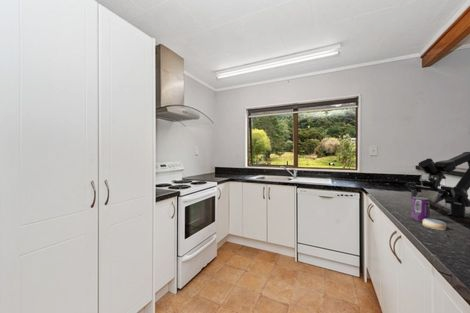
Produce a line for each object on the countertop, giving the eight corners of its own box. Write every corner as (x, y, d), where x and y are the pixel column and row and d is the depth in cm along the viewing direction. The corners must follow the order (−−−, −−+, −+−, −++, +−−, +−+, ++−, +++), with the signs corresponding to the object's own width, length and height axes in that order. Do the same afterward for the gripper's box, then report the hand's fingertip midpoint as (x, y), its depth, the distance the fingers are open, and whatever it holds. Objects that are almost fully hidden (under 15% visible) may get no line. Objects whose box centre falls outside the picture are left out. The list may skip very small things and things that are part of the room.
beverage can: (433, 223, 100) (433, 199, 100) (417, 222, 102) (417, 199, 102) (423, 218, 107) (423, 196, 107) (408, 217, 109) (408, 196, 109)
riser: (427, 223, 101) (427, 217, 101) (449, 228, 94) (449, 222, 94) (419, 225, 97) (419, 219, 97) (441, 231, 90) (441, 224, 90)
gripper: (408, 168, 116) (396, 188, 112) (453, 171, 99) (442, 194, 95) (414, 181, 119) (404, 201, 115) (459, 185, 103) (449, 209, 98)
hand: (422, 201), depth 106 cm, fingers open, 9 cm apart
